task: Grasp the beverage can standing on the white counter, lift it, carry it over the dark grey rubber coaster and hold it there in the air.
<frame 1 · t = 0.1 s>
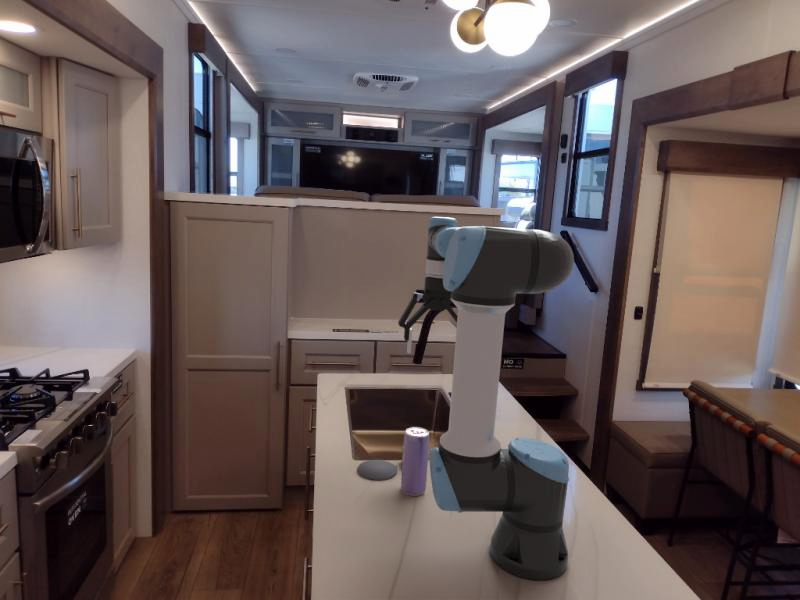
hand: (433, 353, 157), 28 cm above the worktop, fingers open, 13 cm apart
walnut block: (414, 464, 153), on the worktop
beverage can: (413, 491, 139), on the worktop
coaster: (377, 470, 148), on the worktop
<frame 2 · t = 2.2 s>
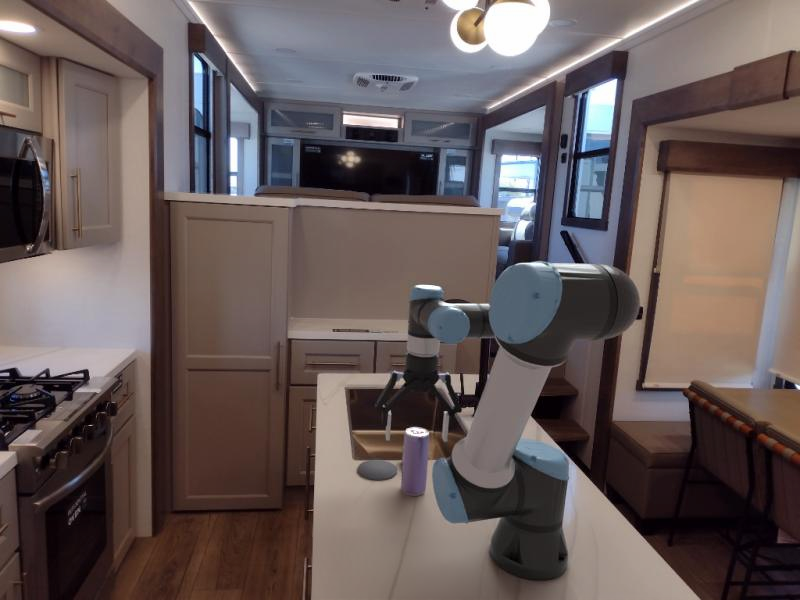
hand: (416, 438, 137), 13 cm above the worktop, fingers open, 13 cm apart
nothing on the worktop moved.
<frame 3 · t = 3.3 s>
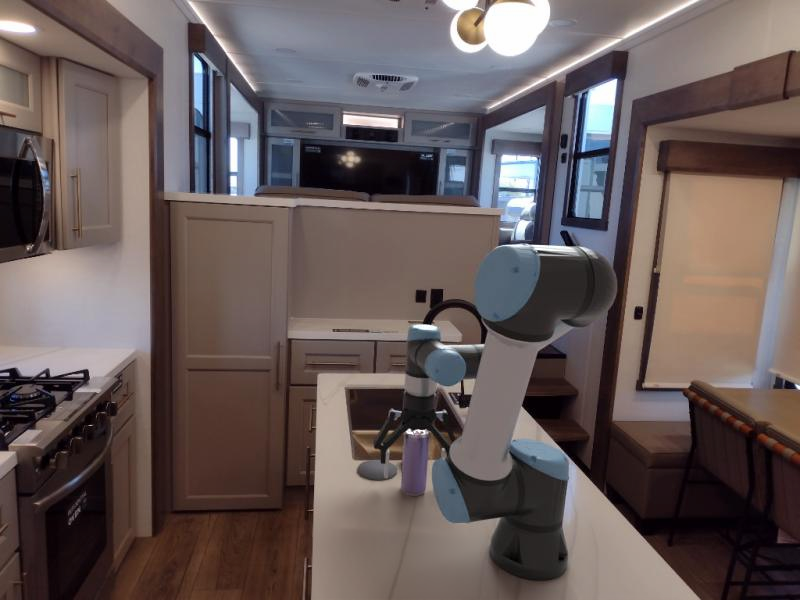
hand: (414, 476, 138), 4 cm above the worktop, fingers open, 13 cm apart
nothing on the worktop moved.
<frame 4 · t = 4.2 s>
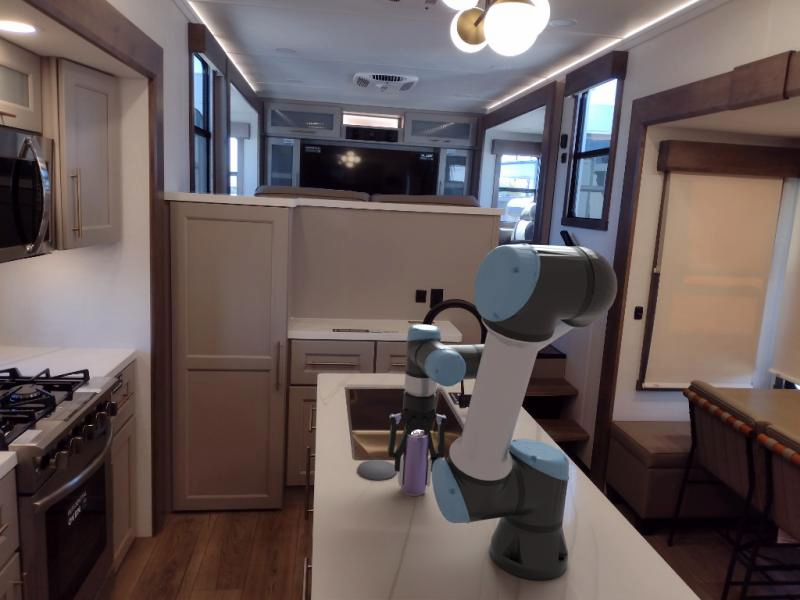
hand: (413, 483, 139), 2 cm above the worktop, fingers closed on beverage can, 6 cm apart
beverage can: (413, 491, 139), on the worktop, touching gripper
everything else where it was.
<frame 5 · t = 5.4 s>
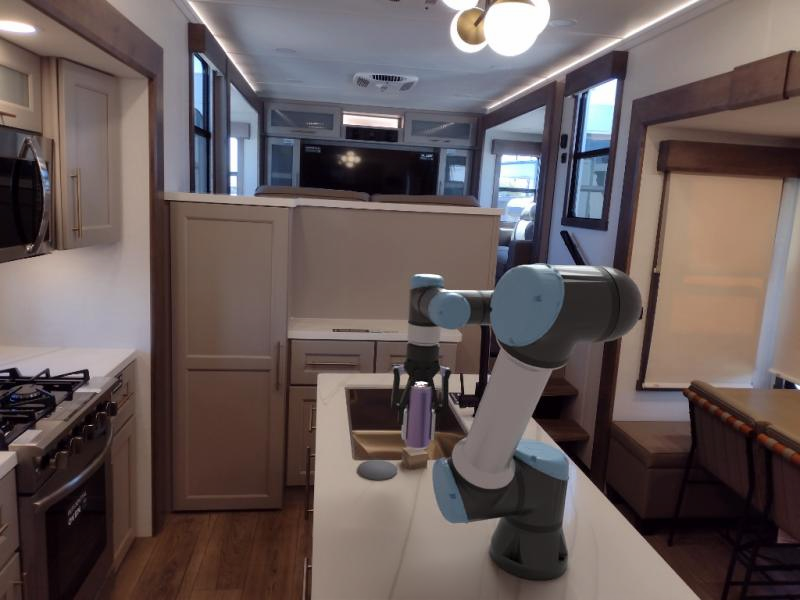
hand: (417, 437, 136), 14 cm above the worktop, fingers closed on beverage can, 6 cm apart
beverage can: (416, 446, 137), point 12 cm above the worktop, touching gripper
everything else where it was.
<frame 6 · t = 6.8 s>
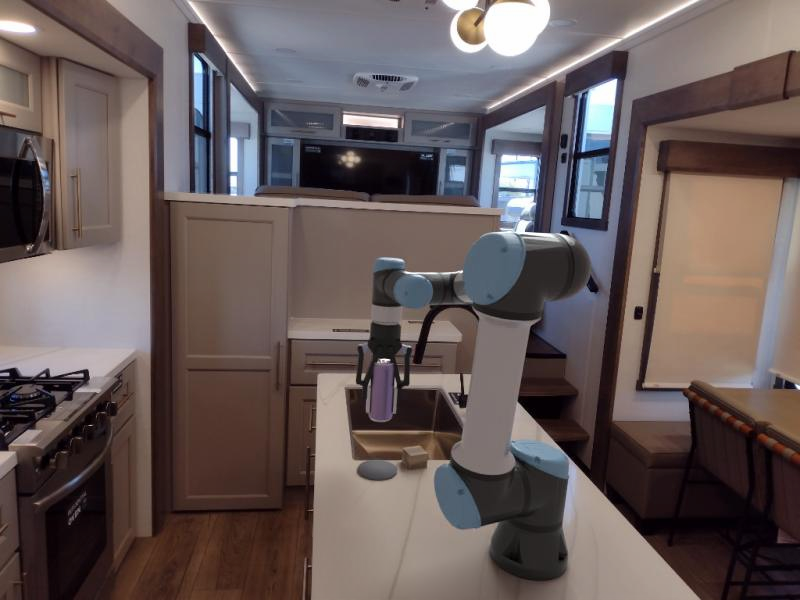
hand: (380, 411, 145), 16 cm above the worktop, fingers closed on beverage can, 6 cm apart
beverage can: (380, 418, 146), point 14 cm above the worktop, touching gripper
everything else where it was.
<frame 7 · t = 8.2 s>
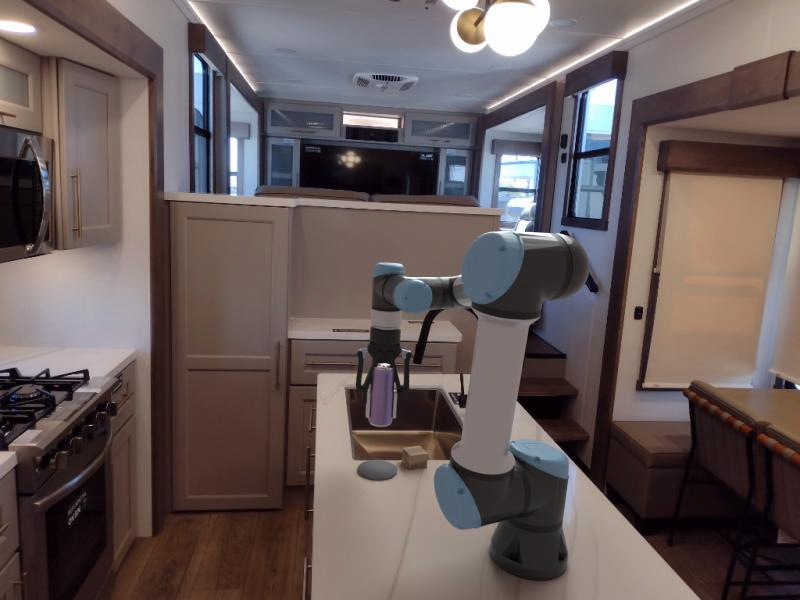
hand: (380, 415, 145), 15 cm above the worktop, fingers closed on beverage can, 6 cm apart
beverage can: (380, 423, 146), point 13 cm above the worktop, touching gripper
everything else where it was.
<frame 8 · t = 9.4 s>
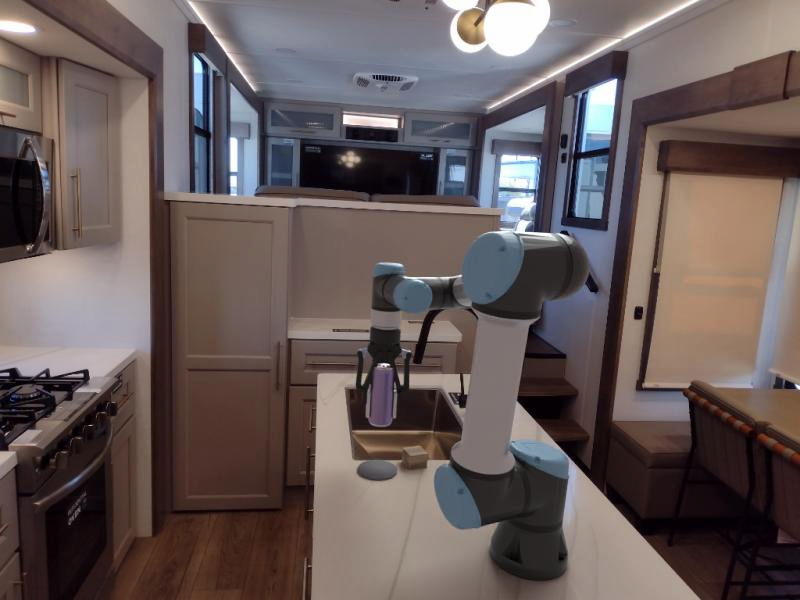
hand: (380, 415, 145), 15 cm above the worktop, fingers closed on beverage can, 6 cm apart
beverage can: (380, 423, 146), point 13 cm above the worktop, touching gripper
everything else where it was.
at the end: the gripper is holding beverage can; beverage can point 12.7 cm above the worktop; beverage can 0.0 cm from the coaster (horizontally) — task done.
